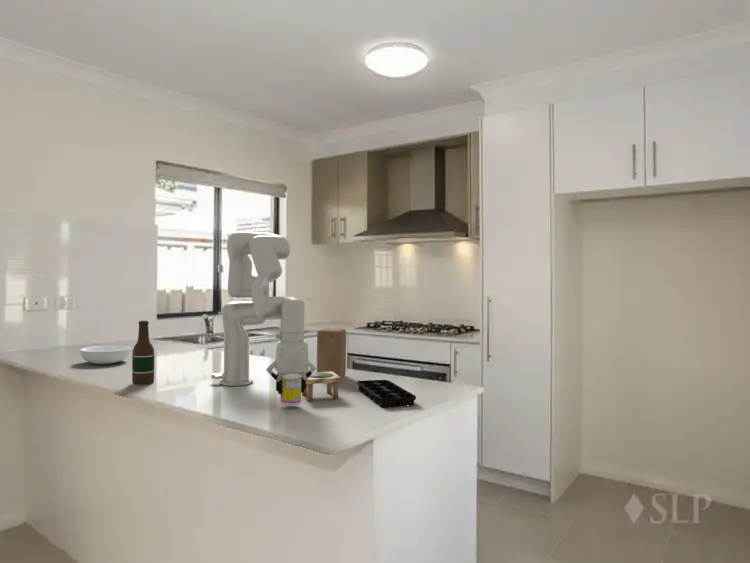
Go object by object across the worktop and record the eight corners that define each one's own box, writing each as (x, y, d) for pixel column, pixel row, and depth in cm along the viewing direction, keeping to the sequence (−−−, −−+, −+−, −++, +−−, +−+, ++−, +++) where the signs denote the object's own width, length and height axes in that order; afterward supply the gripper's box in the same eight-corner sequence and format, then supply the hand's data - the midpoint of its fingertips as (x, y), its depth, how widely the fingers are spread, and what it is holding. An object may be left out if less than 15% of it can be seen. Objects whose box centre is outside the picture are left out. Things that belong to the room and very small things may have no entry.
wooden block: (339, 380, 213) (340, 331, 213) (315, 379, 215) (316, 330, 215) (346, 376, 223) (346, 328, 223) (323, 374, 225) (323, 327, 225)
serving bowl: (117, 367, 236) (117, 352, 236) (70, 366, 236) (70, 351, 236) (138, 359, 257) (138, 345, 257) (95, 359, 257) (95, 344, 257)
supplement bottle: (281, 400, 174) (282, 361, 174) (301, 400, 175) (302, 362, 174) (279, 406, 168) (280, 366, 167) (300, 406, 168) (301, 366, 168)
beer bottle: (158, 382, 206) (159, 320, 206) (142, 386, 199) (142, 322, 198) (144, 380, 209) (144, 319, 209) (127, 384, 202) (127, 321, 202)
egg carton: (383, 387, 204) (383, 377, 204) (430, 405, 178) (430, 393, 178) (342, 392, 195) (343, 382, 195) (386, 411, 169) (386, 400, 169)
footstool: (306, 402, 178) (306, 379, 178) (299, 394, 190) (299, 372, 189) (341, 399, 182) (341, 377, 182) (332, 391, 193) (332, 370, 193)
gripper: (266, 339, 164) (265, 397, 165) (321, 338, 170) (319, 393, 170) (263, 336, 171) (262, 391, 172) (316, 335, 177) (314, 388, 177)
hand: (290, 392), depth 171 cm, fingers closed on supplement bottle, 6 cm apart
